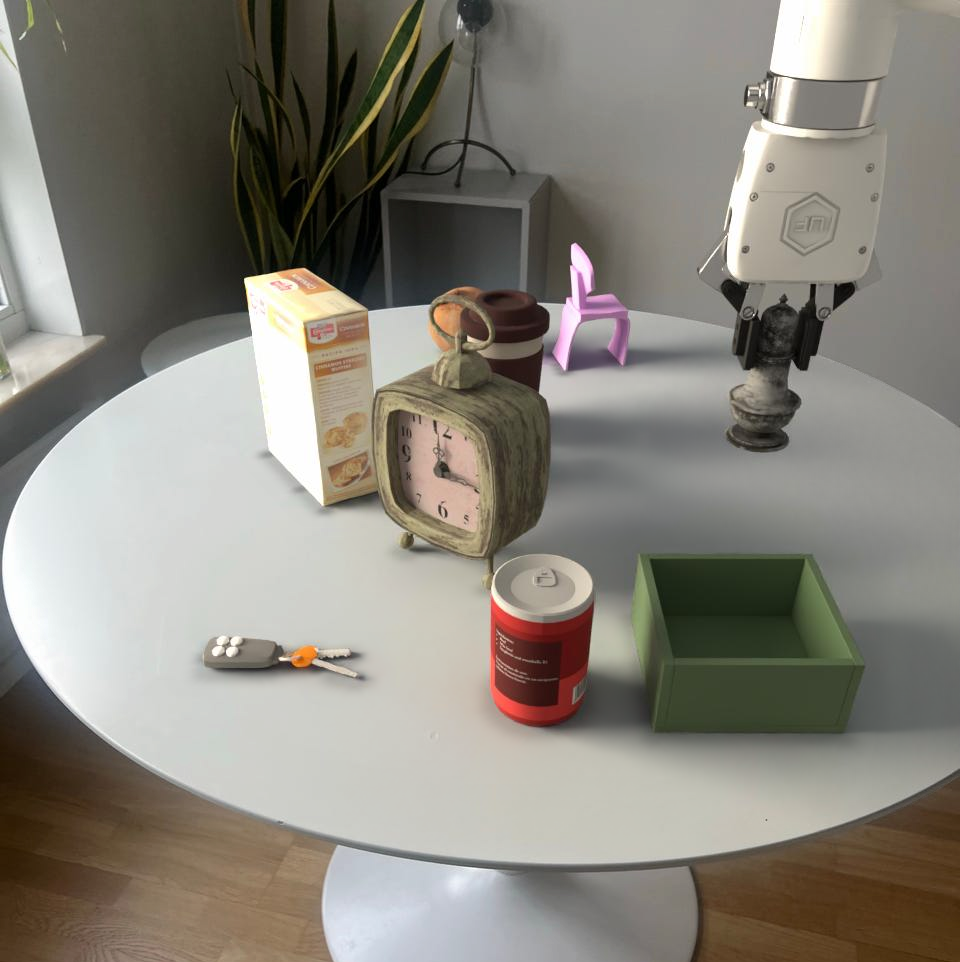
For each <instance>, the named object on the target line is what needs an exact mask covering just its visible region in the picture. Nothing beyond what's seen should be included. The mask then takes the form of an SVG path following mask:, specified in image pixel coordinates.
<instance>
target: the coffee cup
mask: <svg viewBox="0 0 960 962" xmlns="http://www.w3.org/2000/svg"><path fill="white" fill-rule="evenodd" d="M474 302H476V303H478V304H479V305H480V306H481V307H482V308H483V309H484V310H485V311H486V312H487V313H488V315H489V316H490V318H491V319H492V322H493V325H494V329H495V338H494V340H493V343H492V344H491V345H490V346H489V347H488V348H486V349H485V350H480V351H477V352H479V353H480V354H481V355H482V356H483V357H485V358H486V360H487V362H488V363H489V365H490V368H491V371H492V373H495V374H498V375H501V376H503V377H506V378H508V379H511V380H513V381H516V382H518V383H521V384H523V385H526V386H528V387H530V388H532V389H534V390H535V391H537V392H538V393H539V394H540V388H541V380H542V379H541V378H542V370H543V360H544V352H545V345H544V342H543V341H544V336H545V335H546V334H547V333H548V331H549V330H550V323H551V322H550V321H551V314H550V312H549V310H548V309H547V308H545V307H544V306H543V305H541V304H538V301H537V299H536V297H534V295H532V294H531V293H528V292H525V291H522V290H517V289H493V290H488V291H484V293H481V294H480V295H478V296H477V297H476V298H475V299H474ZM460 327H461V330H464V331H466V332H467V341H469V342H472V343H483V342H485V341H487V340H488V338H489V335H490V333H489V329H488V327H487V324H486V323H485V321H484V320H483V319H482V317H481V316H480V315H479V314H478V313H476V312H475V311H474V310H472V309H470V308H467V307H465V308H464V309H463V310H462V311H461V314H460Z"/></svg>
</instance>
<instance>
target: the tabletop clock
mask: <svg viewBox="0 0 960 962" xmlns="http://www.w3.org/2000/svg"><path fill="white" fill-rule="evenodd" d="M444 294H445V293H444ZM444 294H442V295H439V296H437V297H436V298H435V299H434V300H432V302H431V303H430V306H429V308H428V322H429V321H430V323H431V326H432V327H433V329H434V331H435V332H436V334H437V335H438V336H440V337H441V338H442V339H443V340H444V341H446V342H447V343H449V344H451V345H453V346H455V349H451V350H448V351H446V352H442V353H441V355H439V356H438V358H437V360H436V361H435V362H434V363H431V364H429V365H427V366H425V367H423V368H420V369H419V370H417V371H414V372H412V373H410V374H408V375H405V376H403V377H401V378H399V379H396V380H394V381H392V382H390V383H388V384H385V385H384V386H381V387H379V388H377V389H376V390H375V394H374V400H373V406H372V419H371V422H372V454H373V462H374V469H375V477H376V483H377V488H378V491H377V492H378V495H379V496H378V497H379V500H380V503H381V506H382V508H383V511H384V514H385V515H386V516H387V517H388V518H389V519H390V520H391V521H392V522H393V523H394V524H396V525H397V526H398V527H400V528H401V529H403V530H405V531H404V532H402V533H401V532H400V534H399V536H398V538H397V544H398V546H399V547H400V548H401V549H403V550H408V549H410V548H412V547H414V544H415V537H417V538H419V539H421V540H423V541H424V542H426V543H427V544H430V545H432V546H433V547H436V548H438V549H441V550H444V551H446V552H448V553H450V554H451V553H452V554H453V555H457V556H458V557H462V558H464V559H468V560H472V561H485V565H486V570H487V573H485V574H484V576H483V577H482V585H483V587H484V588H485V590H488V591H489V590H490V591H491V587H492V580H493V576H494V574H495V573H496V572H494V562H495V561H494V558H495V554H497V553H498V552H499V551H501V550H503V549H504V548H505V547H507V546H508V545H510V544H512V543H513V542H514V541H516V540H517V539H518V538H520V537H522V536H523V535H525V534H526V533H528V532H529V531H531V530H532V529H534V528H535V527H536V526H537V524H538V522H539V521H540V519H541V517H542V512H543V511H544V506H545V503H546V499H547V495H548V489H549V482H550V481H549V480H550V470H551V463H552V462H551V461H552V460H551V459H552V424H551V413H550V409H549V406H548V405H549V404H548V402H547V398H545V397H544V396H543V395H542V394H541V393H540V392H539V393H538V392H537V391H535V390H534V389H532V388H530V387H528V386H526V385H523V384H521V383H518V382H516V381H513V380H511V379H508V378H506V377H503V376H501V375H498V374H495V373H492V371H491V368H490V365H489V363H488V362H487V360H486V358H485V357H483V356H482V355H481V354H480V353H479V352H477V351H480V350H485V349H486V348H488V347H489V346H490V345H491V344H492V343H493V340H494V338H495V329H494V325H493V322H492V319H491V318H490V316H489V315H488V313H487V312H486V311H485V310H484V309H483V308H482V307H481V306H480V305H479V304H478V303H476V302H474V301H472V300H470V299H468V298H466V297H462V296H459V295H453V294H445V295H444ZM446 302H447V303H455V304H459V305H462V306H465V307H467V308H470V309H472V310H474V311H475V312H476V313H478V314H479V315H480V316H481V317H482V319H483V320H484V321H485V323H486V324H487V327H488V329H489V333H490V335H489V338H488V340H487V341H485V342H483V343H472V342H469V341H467V332H466V331H464V330H458V331H457V332H456V333H455V337H453V336H451V335H449V334H448V333H446V332H445V331H443V330H442V329H441V328H440V327H439V326H438V325H437V324H436V322H435V319H434V311H435V309H436V308H437V307H438V306H439V305H440V304H442V303H446ZM414 536H415V537H414Z"/></svg>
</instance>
